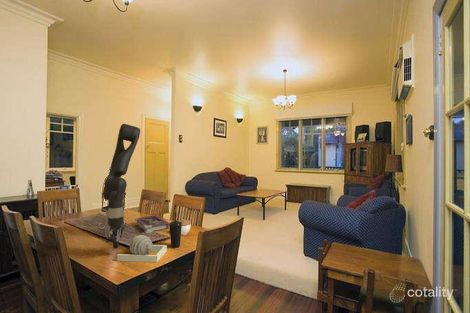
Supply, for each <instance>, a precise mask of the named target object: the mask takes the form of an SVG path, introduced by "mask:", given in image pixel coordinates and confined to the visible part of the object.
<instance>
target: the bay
mask: <svg viewBox="0 0 470 313" xmlns="http://www.w3.org/2000/svg"><path fill="white" fill-rule="evenodd" d="M167 247H168V246H167V244H166V245H165V244H152V249H151V251H150V252H157V253H156V254H150V255H147V254H146V255H135V254H133V253H132V254H131V253H127V254H125V253H118V254H117V260H116V261H117V262H137V263H139V262H141V263H142V262H143V263H158V262H159V261H160V260H161V258H163V256H164V254H165V253H166V252H167V251H168V248H167Z"/></svg>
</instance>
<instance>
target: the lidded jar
mask: <svg viewBox="0 0 470 313" xmlns="http://www.w3.org/2000/svg"><path fill="white" fill-rule="evenodd" d="M177 221H180V222H182V228H181V236H185V235H187V234H188V233H189V232H190V230H191V223H192V221H191V220H189V219H183V218H182V219H178V220H177Z"/></svg>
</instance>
